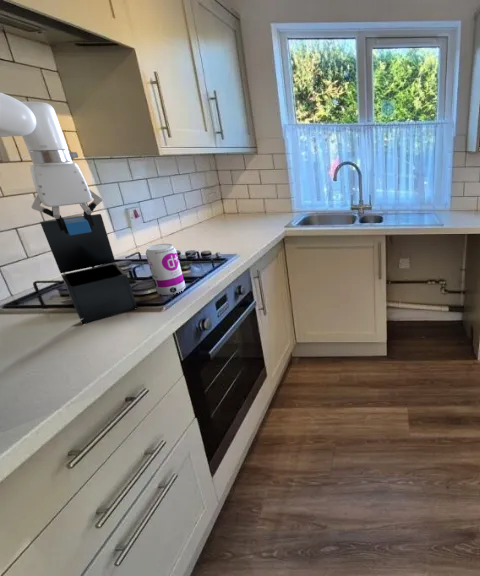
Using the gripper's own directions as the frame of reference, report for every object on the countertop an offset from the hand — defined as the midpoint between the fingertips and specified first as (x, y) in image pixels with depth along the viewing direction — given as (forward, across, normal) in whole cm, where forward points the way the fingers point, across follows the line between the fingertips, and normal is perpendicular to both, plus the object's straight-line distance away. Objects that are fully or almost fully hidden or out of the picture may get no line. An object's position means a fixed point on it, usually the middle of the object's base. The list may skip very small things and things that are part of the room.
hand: (78, 230), depth 96 cm
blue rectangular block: (0, 0, 0) cm, 0 cm away
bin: (+24, 0, -1) cm, 24 cm away
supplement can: (+24, -17, -1) cm, 30 cm away
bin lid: (+5, 0, -7) cm, 8 cm away
